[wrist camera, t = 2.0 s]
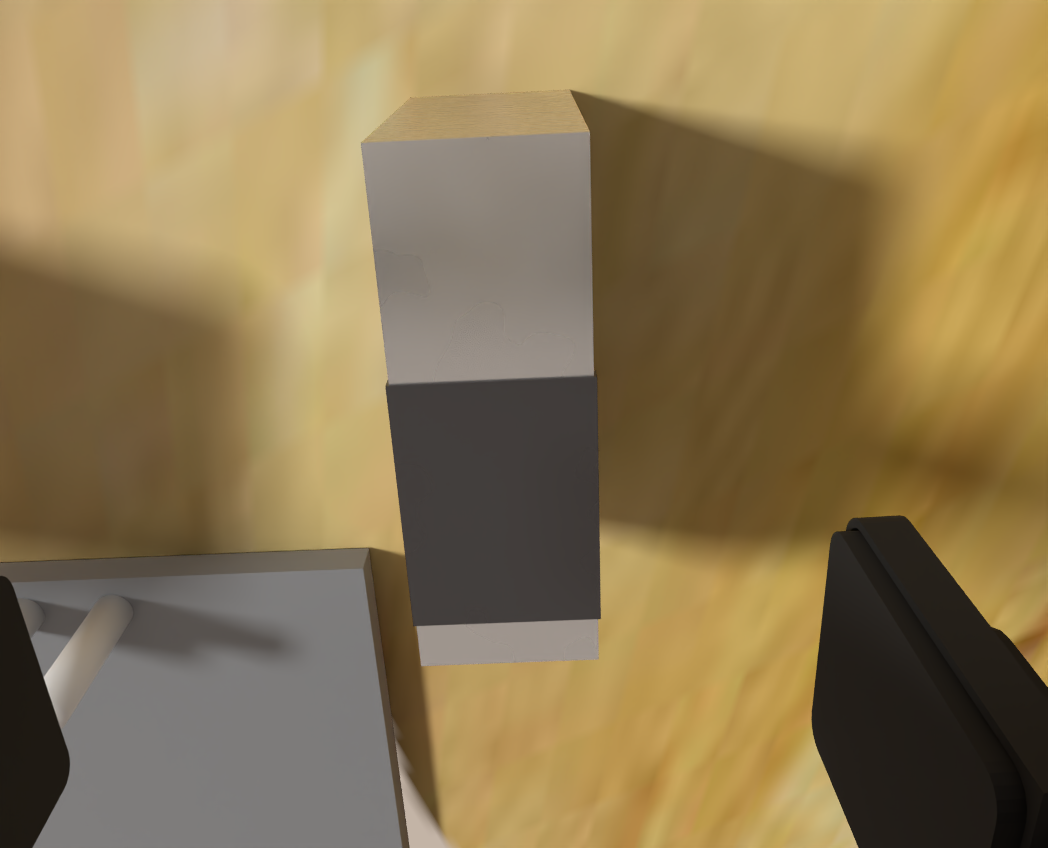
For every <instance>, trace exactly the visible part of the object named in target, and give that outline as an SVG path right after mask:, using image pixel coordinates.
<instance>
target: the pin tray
mask: <svg viewBox="0 0 1048 848" xmlns="http://www.w3.org/2000/svg"><path fill="white" fill-rule="evenodd" d="M0 576H4V577H7V578H8V579H9V580H10V581H11V583H12V586H13V588H14V591H15V593H16V596H17V599H18V602H19V605H20V608H21V611H22V614H23V617H24V620H25V623H26V626H27V629H28V632H29V635H30V638H31V641H32V644H33V647H34V650H35V653H36V656H37V659H38V662H39V665H40V668H41V671H42V674H43V677H44V680H45V683H46V686H47V689H48V692H49V695H50V698H51V701H52V704H53V707H54V710H55V713H56V716H57V719H58V722H59V725H60V728H61V731H62V734H63V737H64V740H65V743H66V746H67V749H68V752H69V757H70V771H69V777H68V781H67V784H66V786H65V789H64V791H63V792H62V794H61V796H60V798H59V800H58V802H57V804H56V805H55V807H54V809H53V811H52V813H51V815H50V816H49V818H48V820H47V822H46V824H45V826H44V828H43V829H42V831H41V833H40V835H39V837H38V839H37V841H36V842H35V844H34V846H33V848H409V842H408V833H407V826H406V819H405V811H404V804H403V797H402V789H401V782H400V774H399V767H398V760H397V752H396V745H395V737H394V730H393V723H392V715H391V708H390V701H389V693H388V686H387V679H386V671H385V664H384V656H383V649H382V642H381V634H380V627H379V620H378V612H377V605H376V598H375V590H374V583H373V575H372V568H371V561H370V553H369V548H356V549H331V550H306V551H282V552H257V553H232V554H208V555H183V556H158V557H133V558H109V559H84V560H59V561H34V562H10V563H0Z"/></svg>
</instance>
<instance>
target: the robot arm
mask: <svg viewBox="0 0 1048 848" xmlns="http://www.w3.org/2000/svg"><path fill="white" fill-rule="evenodd" d="M812 729H813V735H814V739H815V743H816V746H817V749H818V752H819V754H820V756H821V759H822V761H823V764H824V766H825V768H826V771H827V773H828V776H829V778H830V780H831V783H832V785H833V787H834V790H835V792H836V795H837V797H838V799H839V802H840V804H841V807H842V809H843V811H844V814H845V816H846V819H847V821H848V823H849V826H850V828H851V831H852V833H853V835H854V838H855V840H856V843H857V845H858V847H859V848H1048V687H1047V686H1046V685H1045V683H1044V682H1043V681H1042V680H1041V678H1040V677H1039V676H1038V674H1037V673H1036V672H1035V671H1034V669H1033V668H1032V667H1031V665H1030V664H1029V663H1028V662H1027V660H1026V659H1025V658H1024V657H1023V655H1022V654H1021V653H1020V651H1019V650H1018V649H1017V648H1016V646H1015V645H1014V644H1013V643H1012V641H1011V640H1010V639H1009V638H1008V637H1007V636H1006V635H1005V634H1004V633H1003V632H1002V631H1001V630H998V629H995V628H993V627H991V626H990V625H989V624H988V623H987V621H986V620H985V619H984V617H983V616H982V615H981V613H980V612H979V611H978V610H977V608H976V607H975V606H974V604H973V603H972V602H971V600H970V599H969V598H968V597H967V595H966V594H965V593H964V591H963V590H962V589H961V587H960V586H959V585H958V584H957V582H956V581H955V580H954V578H953V577H952V576H951V574H950V573H949V572H948V571H947V569H946V568H945V567H944V565H943V564H942V563H941V561H940V560H939V559H938V557H937V556H936V555H935V554H934V552H933V551H932V550H931V548H930V547H929V546H928V544H927V543H926V542H925V541H924V539H923V538H922V537H921V535H920V534H919V533H918V531H917V530H916V529H915V528H914V526H913V525H912V524H911V522H910V521H909V520H908V519H907V518H906V517H905V516H884V517H865V518H853V519H851V520H850V521H849V523H848V525H847V528H846V531H840V532H835V533H834V534H833V536H832V538H831V543H830V551H829V560H828V569H827V579H826V588H825V597H824V606H823V615H822V624H821V634H820V643H819V652H818V661H817V670H816V679H815V688H814V698H813V707H812ZM69 771H70V757H69V752H68V749H67V746H66V743H65V740H64V737H63V734H62V731H61V728H60V725H59V722H58V719H57V716H56V713H55V710H54V707H53V704H52V701H51V698H50V695H49V692H48V689H47V686H46V683H45V680H44V677H43V674H42V671H41V668H40V665H39V662H38V659H37V656H36V653H35V650H34V647H33V644H32V641H31V638H30V635H29V632H28V629H27V626H26V623H25V620H24V617H23V614H22V611H21V608H20V605H19V602H18V599H17V596H16V593H15V591H14V588H13V586H12V583H11V581H10V580H9V579H8V578H7V577H4V576H0V848H33V846H34V844H35V842H36V841H37V839H38V837H39V835H40V833H41V831H42V829H43V828H44V826H45V824H46V822H47V820H48V818H49V816H50V815H51V813H52V811H53V809H54V807H55V805H56V804H57V802H58V800H59V798H60V796H61V794H62V792H63V791H64V789H65V786H66V784H67V781H68V777H69Z"/></svg>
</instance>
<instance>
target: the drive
mask: <svg viewBox="0 0 1048 848" xmlns="http://www.w3.org/2000/svg"><path fill="white" fill-rule="evenodd" d="M361 148H362V157H363V166H364V174H365V183H366V192H367V200H368V209H369V218H370V226H371V235H372V244H373V252H374V261H375V270H376V278H377V287H378V296H379V304H380V313H381V322H382V330H383V339H384V348H385V356H386V365H387V374H388V381H387V383H386V395H387V403H388V412H389V420H390V429H391V438H392V446H393V455H394V463H395V472H396V480H397V489H398V497H399V506H400V514H401V523H402V532H403V540H404V549H405V557H406V566H407V574H408V583H409V591H410V600H411V608H412V617H413V626H417V634H418V642H419V651H420V660H421V666H436V665H462V664H488V663H515V662H541V661H568V660H594V659H599V657H598V619H601V608H600V541H599V473H598V405H597V374H596V371H594V350H593V289H592V227H591V166H590V131H589V129H588V127H587V125H586V123H585V121H584V119H583V117H582V114H581V112H580V110H579V108H578V106H577V104H576V102H575V100H574V98H573V96H572V94H571V92H570V90H551V91H531V92H511V93H490V94H470V95H450V96H429V97H410V98H409V99H408V100H407V101H406V102H405V103H404V104H403V105H402V106H401V107H399V108H398V109H397V110H396V111H395V112H394V113H393V114H392V115H391V116H390V117H389V118H387V119H386V120H385V121H384V122H383V123H382V124H381V125H380V126H379V127H378V128H377V129H375V130H374V131H373V132H372V133H371V134H370V135H369V136H368V137H367V138H366V139H365V140H363V141H362V142H361Z"/></svg>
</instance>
